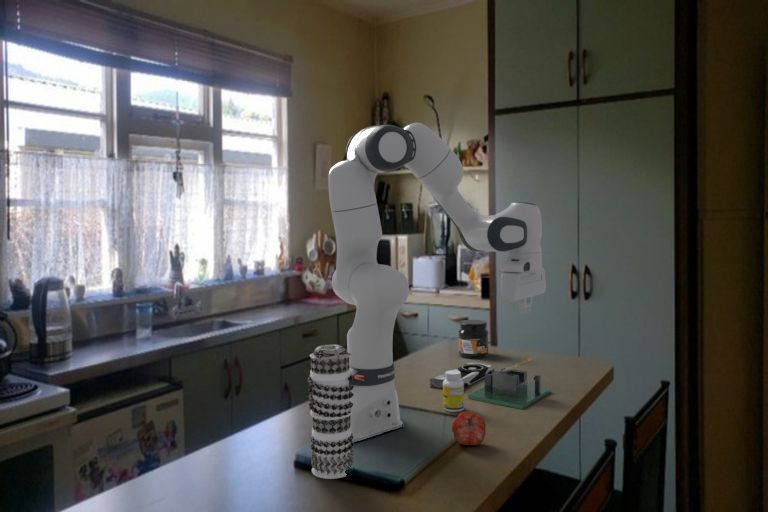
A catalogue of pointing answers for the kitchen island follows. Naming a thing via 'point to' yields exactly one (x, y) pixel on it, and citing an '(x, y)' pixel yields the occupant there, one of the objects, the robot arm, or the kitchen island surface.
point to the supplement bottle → (453, 391)
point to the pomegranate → (469, 428)
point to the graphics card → (466, 374)
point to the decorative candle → (330, 411)
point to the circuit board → (510, 389)
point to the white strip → (515, 365)
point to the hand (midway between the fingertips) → (524, 314)
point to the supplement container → (473, 339)
